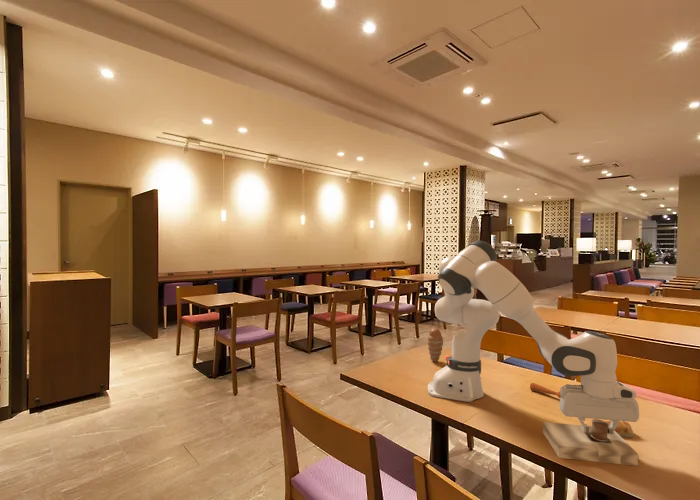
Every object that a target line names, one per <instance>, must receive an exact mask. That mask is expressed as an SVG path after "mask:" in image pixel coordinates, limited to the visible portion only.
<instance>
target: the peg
mask: <svg viewBox="0 0 700 500" xmlns="http://www.w3.org/2000/svg"><path fill="white" fill-rule="evenodd" d="M606 422H607V421H605V422H604V421H603V419H593V418H592V420H591V426H592V429H591V440H592V442H602V443H607V436H608V423H606Z"/></svg>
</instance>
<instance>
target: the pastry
mask: <svg viewBox="0 0 700 500" xmlns="http://www.w3.org/2000/svg"><path fill="white" fill-rule="evenodd" d="M604 422H606V423H608V426H609V425H610V423H611V422H612V421H611V420H606V421H604ZM614 431H615V432H616V433H617V434H618V435H619V436H621V437H622V438H633V437H634V431H633V429H632V426H631V424H630V423H629V422H628V421H619V425H618V426H617V427H616V429H614Z"/></svg>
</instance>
